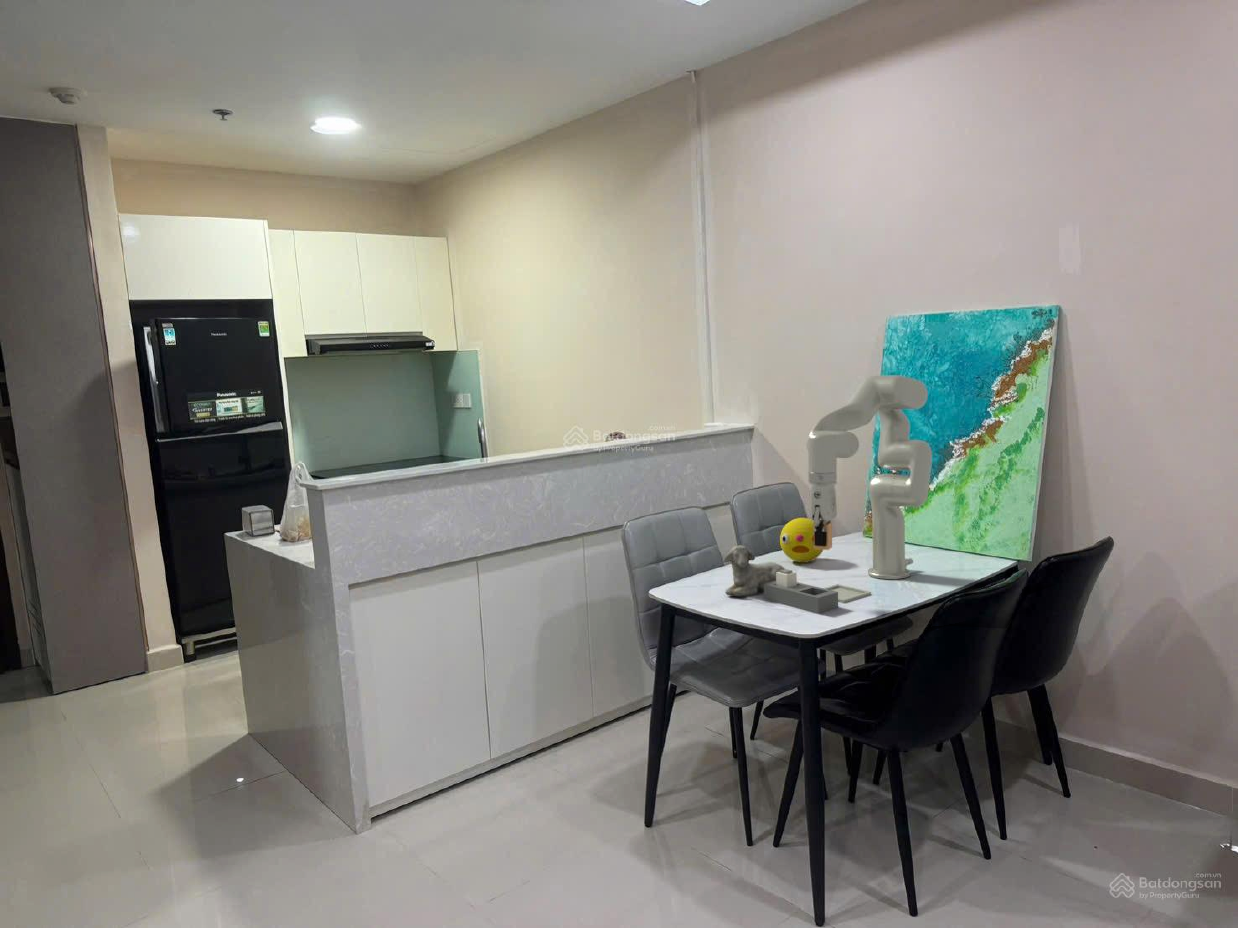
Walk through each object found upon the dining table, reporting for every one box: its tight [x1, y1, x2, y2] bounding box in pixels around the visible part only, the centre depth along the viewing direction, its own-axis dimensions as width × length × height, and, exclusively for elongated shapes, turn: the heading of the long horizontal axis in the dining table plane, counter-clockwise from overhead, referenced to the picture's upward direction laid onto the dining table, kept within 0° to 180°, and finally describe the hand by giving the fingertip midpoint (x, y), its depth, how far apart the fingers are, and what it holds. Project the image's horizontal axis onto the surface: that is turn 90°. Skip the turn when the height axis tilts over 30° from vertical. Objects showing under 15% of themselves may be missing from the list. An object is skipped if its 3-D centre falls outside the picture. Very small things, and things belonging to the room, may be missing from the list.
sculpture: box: [723, 544, 786, 598], centre depth 242 cm, size 11×21×15 cm, turn 124°
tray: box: [822, 583, 872, 604], centre depth 235 cm, size 12×12×1 cm
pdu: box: [763, 568, 839, 615], centre depth 228 cm, size 8×20×9 cm, turn 35°
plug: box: [814, 521, 833, 551], centre depth 226 cm, size 4×4×8 cm
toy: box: [779, 517, 824, 563], centre depth 275 cm, size 15×16×15 cm
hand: (823, 543), depth 226 cm, fingers closed on plug, 4 cm apart
